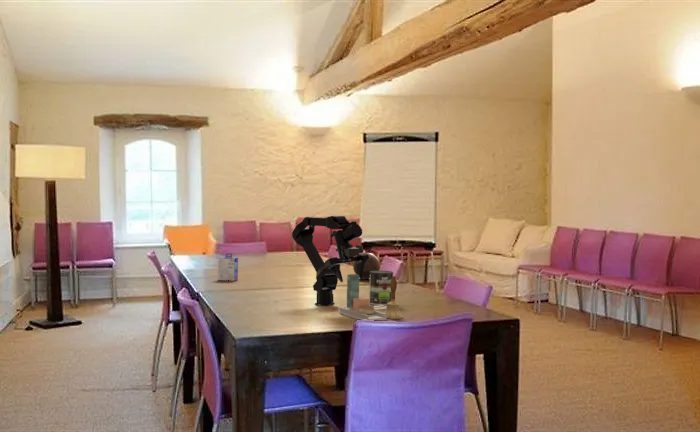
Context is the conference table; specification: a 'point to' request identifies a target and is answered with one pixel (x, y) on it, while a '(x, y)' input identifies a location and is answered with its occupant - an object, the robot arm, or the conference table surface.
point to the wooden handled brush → (393, 302)
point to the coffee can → (380, 287)
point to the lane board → (357, 315)
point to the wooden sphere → (368, 266)
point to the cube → (360, 302)
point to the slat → (356, 295)
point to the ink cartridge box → (228, 268)
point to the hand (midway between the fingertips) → (351, 280)
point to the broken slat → (380, 308)
